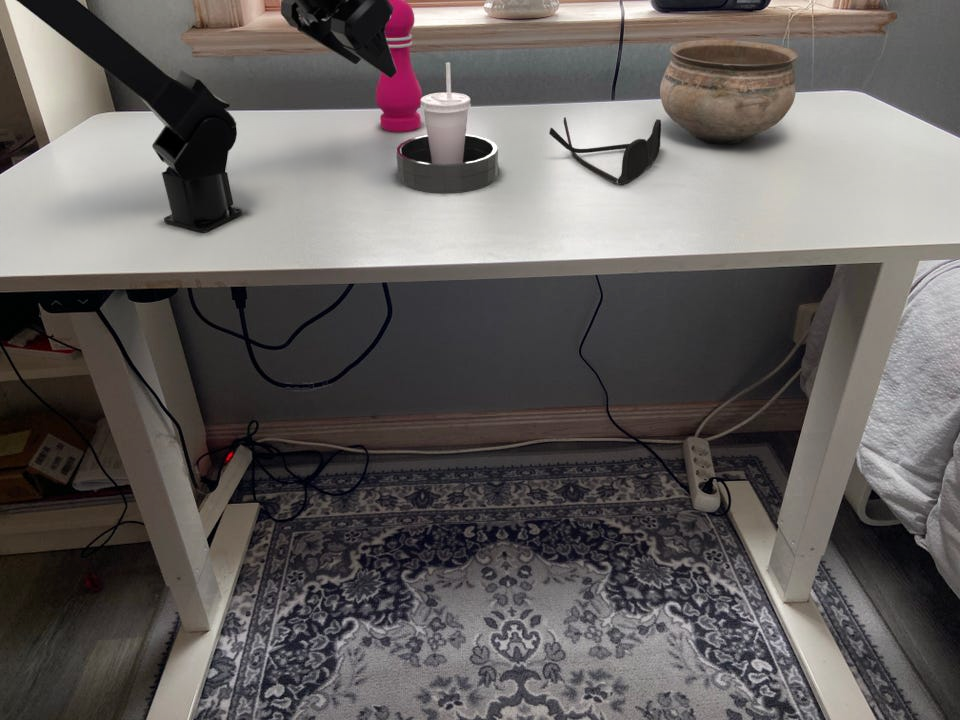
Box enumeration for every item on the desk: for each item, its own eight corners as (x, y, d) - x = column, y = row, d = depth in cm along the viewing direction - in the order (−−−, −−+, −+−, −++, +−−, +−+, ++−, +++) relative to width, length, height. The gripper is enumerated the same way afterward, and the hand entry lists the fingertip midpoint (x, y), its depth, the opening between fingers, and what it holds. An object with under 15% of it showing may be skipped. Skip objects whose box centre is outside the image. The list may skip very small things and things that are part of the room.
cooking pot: (818, 161, 104) (841, 69, 97) (685, 167, 102) (699, 73, 95) (745, 112, 124) (760, 33, 118) (634, 116, 123) (642, 36, 116)
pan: (466, 199, 93) (466, 171, 91) (378, 182, 98) (376, 155, 96) (513, 167, 102) (514, 141, 100) (431, 153, 108) (430, 128, 106)
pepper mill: (432, 124, 120) (427, -15, 109) (405, 135, 115) (396, -9, 104) (396, 117, 123) (387, -18, 112) (368, 128, 118) (356, -12, 107)
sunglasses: (574, 137, 114) (576, 103, 111) (668, 150, 108) (672, 115, 105) (528, 171, 101) (529, 134, 99) (631, 188, 96) (635, 149, 93)
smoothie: (454, 184, 96) (451, 70, 89) (414, 175, 99) (407, 64, 91) (480, 170, 101) (480, 60, 93) (441, 162, 104) (437, 54, 96)
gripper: (384, -96, 75) (461, 33, 86) (308, -100, 88) (383, 12, 99) (307, -18, 74) (395, 101, 85) (242, -34, 87) (325, 71, 98)
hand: (375, 68), depth 92 cm, fingers open, 9 cm apart
